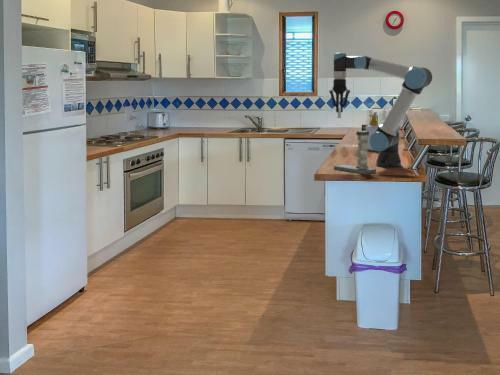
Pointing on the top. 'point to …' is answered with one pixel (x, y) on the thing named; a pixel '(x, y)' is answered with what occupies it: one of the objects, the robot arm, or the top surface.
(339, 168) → the fader console
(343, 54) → the robot arm
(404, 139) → the top surface
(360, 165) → the lever
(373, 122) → the soap bottle
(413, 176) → the top surface
